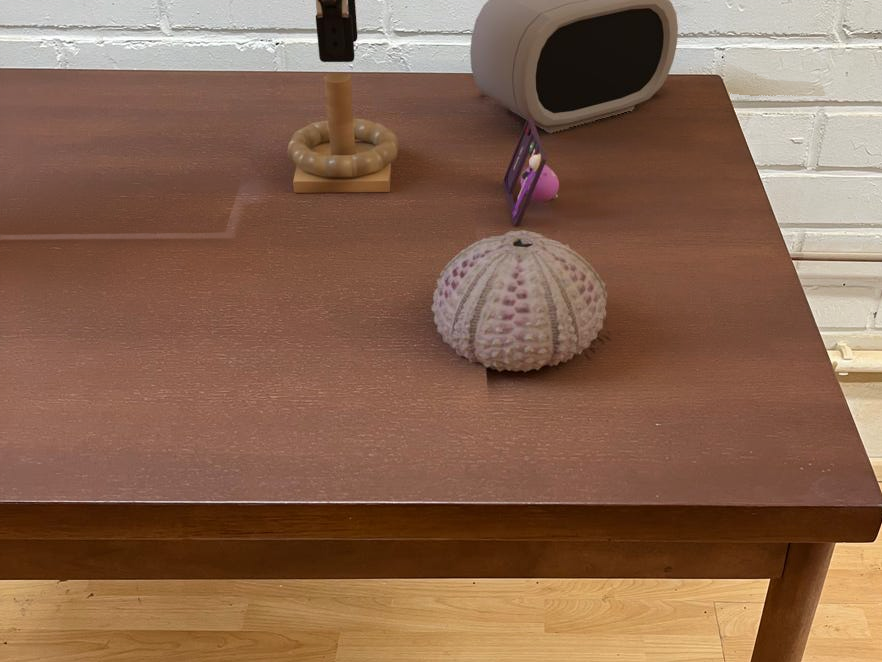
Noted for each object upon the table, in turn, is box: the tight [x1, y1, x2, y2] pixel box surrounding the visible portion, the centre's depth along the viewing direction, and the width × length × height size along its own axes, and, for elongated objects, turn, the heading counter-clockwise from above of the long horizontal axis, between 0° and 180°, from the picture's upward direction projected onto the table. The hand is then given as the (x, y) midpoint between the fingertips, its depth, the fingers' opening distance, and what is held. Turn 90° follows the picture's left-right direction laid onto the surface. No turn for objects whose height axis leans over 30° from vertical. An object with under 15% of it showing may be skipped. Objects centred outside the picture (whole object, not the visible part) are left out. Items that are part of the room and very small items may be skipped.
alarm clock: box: [469, 0, 679, 134], centre depth 106 cm, size 21×10×13 cm, turn 123°
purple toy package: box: [502, 117, 560, 227], centre depth 92 cm, size 7×5×9 cm
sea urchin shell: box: [430, 229, 609, 373], centre depth 75 cm, size 13×14×8 cm
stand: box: [292, 72, 392, 194], centre depth 96 cm, size 9×9×9 cm
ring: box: [286, 118, 399, 178], centre depth 98 cm, size 11×11×2 cm
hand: (339, 48), depth 95 cm, fingers open, 4 cm apart
